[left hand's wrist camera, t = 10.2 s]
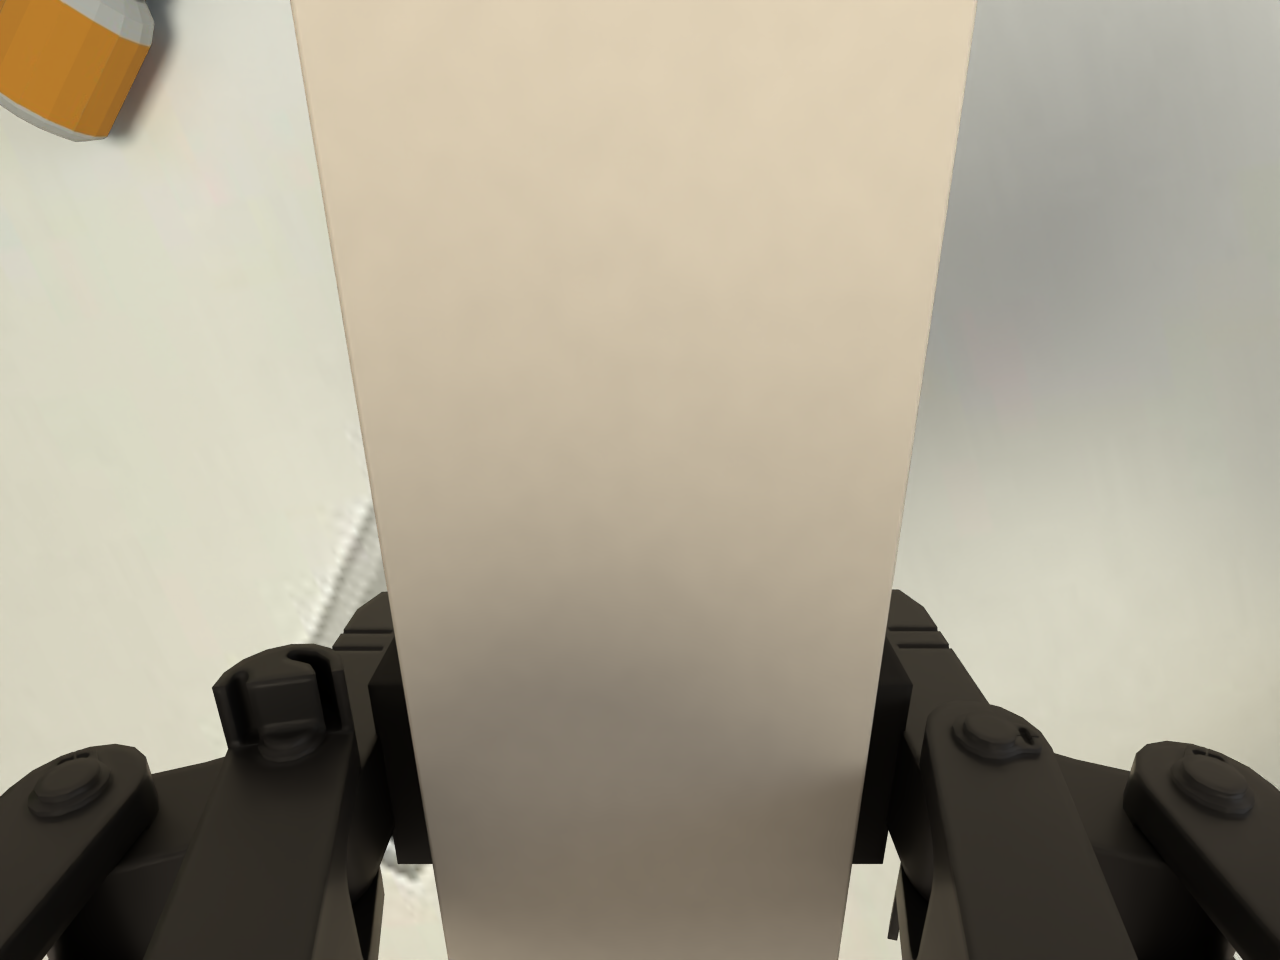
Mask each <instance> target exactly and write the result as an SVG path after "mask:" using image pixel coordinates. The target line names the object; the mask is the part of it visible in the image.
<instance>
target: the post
mask: <svg viewBox="0 0 1280 960" xmlns="http://www.w3.org/2000/svg"><path fill="white" fill-rule="evenodd" d="M977 1H978V0H290V3H291V9H292V15H293V21H294V27H295V33H296V39H297V45H298V51H299V57H300V63H301V69H302V75H303V81H304V87H305V93H306V100H307V106H308V112H309V118H310V124H311V130H312V136H313V142H314V148H315V154H316V160H317V166H318V172H319V178H320V184H321V190H322V197H323V203H324V209H325V215H326V221H327V227H328V233H329V239H330V245H331V251H332V257H333V263H334V269H335V275H336V281H337V287H338V293H339V300H340V306H341V312H342V318H343V324H344V330H345V336H346V342H347V348H348V354H349V360H350V366H351V372H352V378H353V384H354V390H355V396H356V403H357V409H358V415H359V421H360V427H361V433H362V439H363V445H364V451H365V457H366V463H367V469H368V475H369V481H370V487H371V493H372V499H373V506H374V512H375V518H376V524H377V530H378V536H379V542H380V548H381V554H382V560H383V566H384V572H385V578H386V584H387V590H388V596H389V603H390V609H391V615H392V621H393V627H394V633H395V639H396V645H397V651H398V657H399V663H400V669H401V675H402V681H403V687H404V693H405V699H406V706H407V712H408V718H409V724H410V730H411V736H412V742H413V748H414V754H415V760H416V766H417V772H418V778H419V784H420V790H421V796H422V802H423V809H424V815H425V821H426V827H427V833H428V839H429V845H430V851H431V857H432V863H433V869H434V875H435V881H436V887H437V893H438V899H439V906H440V912H441V918H442V924H443V930H444V936H445V942H446V948H447V954H448V960H838V957H839V950H840V943H841V936H842V929H843V922H844V915H845V909H846V902H847V895H848V888H849V881H850V874H851V867H852V860H853V854H854V847H855V840H856V833H857V826H858V819H859V812H860V805H861V799H862V792H863V785H864V778H865V771H866V764H867V757H868V750H869V744H870V737H871V730H872V723H873V716H874V709H875V702H876V695H877V689H878V682H879V675H880V668H881V661H882V654H883V647H884V640H885V634H886V627H887V620H888V613H889V606H890V599H891V592H892V585H893V579H894V572H895V565H896V558H897V551H898V544H899V537H900V530H901V524H902V517H903V510H904V503H905V496H906V489H907V482H908V475H909V469H910V462H911V455H912V448H913V441H914V434H915V427H916V420H917V414H918V407H919V400H920V393H921V386H922V379H923V372H924V365H925V359H926V352H927V345H928V338H929V331H930V324H931V317H932V310H933V304H934V297H935V290H936V283H937V276H938V269H939V262H940V255H941V249H942V242H943V235H944V228H945V221H946V214H947V207H948V200H949V194H950V187H951V180H952V173H953V166H954V159H955V152H956V145H957V139H958V132H959V125H960V118H961V111H962V104H963V97H964V90H965V84H966V77H967V70H968V63H969V56H970V49H971V42H972V35H973V29H974V22H975V15H976V8H977Z"/></svg>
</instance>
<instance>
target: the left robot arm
mask: <svg viewBox="0 0 1280 960" xmlns="http://www.w3.org/2000/svg"><path fill="white" fill-rule="evenodd" d="M212 690H213V693H214V697H215V701H216V704H217V708H218V712H219V716H220V719H221V723H222V727H223V731H224V734H225V738H226V742H227V746H228V751H227V753H226V756H225V757H222V758H219V759H215V760H212V761H208V762H205V763H200V764H196V765H191V766H187V767H182V768H178V769H173V770H169V771H164V772H160V773H155V774H151V772H150V769H149V766H148V763H147V759H146V757H145V756H144V755H143V754H142V753H141V752H140V751H138V750H137V749H136V748H135V747H130V746H125V745H119V744H110V745H102V746H93V747H88V748H85V749H82V750H78V751H75V752H71V753H69V754H66V755H63V756H60V757H58V758H56V759H54V760H52V761H50V762H49V763H47V764H45V765H43V766H41V767H39V768H37V769H35V770H33V771H31V772H30V773H29V774H28V775H26V776H25V777H24V778H22V779H21V780H20V781H18V782H17V783H16V784H14V785H13V786H12V787H10V788H9V789H8V790H7V791H6V792H5V793H4V794H3V795H2V796H0V960H42V959H43V958H44V957H45V955H46V954H47V956H48V958H49V959H48V960H378V953H379V943H380V934H381V924H382V914H383V904H384V888H383V881H382V875H381V870H380V864H381V861H382V858H383V856H384V853H385V851H386V848H387V845H388V843H389V840H390V838H391V835H392V832H393V838H394V844H395V850H396V856H397V862H398V864H433V863H432V857H431V851H430V845H429V839H428V833H427V827H426V821H425V815H424V809H423V802H422V796H421V790H420V784H419V778H418V772H417V766H416V760H415V754H414V748H413V742H412V736H411V730H410V724H409V718H408V712H407V706H406V699H405V693H404V687H403V681H402V675H401V669H400V663H399V657H398V651H397V645H396V639H395V633H394V627H393V621H392V615H391V609H390V603H389V596H388V592H381V593H380V594H378V595H377V596H376V597H374V598H373V599H371V600H370V601H368V602H367V603H366V604H364V605H363V606H361V607H360V608H359V609H357V611H356V612H355V614H354V615H353V617H352V618H351V620H350V621H349V623H348V624H347V626H346V627H345V629H344V633H343V634H340V636H339V637H338V639H337V640H336V642H335V643H334V645H333V646H332V649H331V648H328V647H324V646H320V645H316V644H290V645H286V646H281V647H277V648H272V649H267V650H265V651H262V652H260V653H258V654H255V655H253V656H250V657H248V658H246V659H243V660H242V661H240V662H239V663H237V664H236V665H234V666H233V667H232V668H230V669H229V670H227V671H226V672H224V673H223V675H222V676H221V677H220V678H219V680H218V681H217V682H216V683H215V684H214V686H213V687H212ZM888 830H889V832H890V835H891V838H892V840H893V843H894V845H895V848H896V850H897V853H898V856H899V858H900V861H901V864H900V869H899V875H898V880H897V886H896V891H895V897H894V902H893V908H892V913H891V919H890V925H889V932H888V939H892V940H897V938H898V933H899V932H900V942H901V952H902V960H1236V959H1235V958H1234V957H1233V956H1234V953H1235V951H1236V952H1237V953H1238V954H1239V955H1240V957H1241V958H1242V959H1243V960H1280V791H1279V790H1278V789H1277V788H1276V787H1274V786H1273V785H1272V784H1271V783H1269V782H1268V781H1267V780H1265V779H1264V778H1263V777H1261V776H1260V775H1259V774H1257V773H1256V772H1255V771H1253V770H1252V769H1251V768H1249V767H1247V766H1245V765H1243V764H1241V763H1240V762H1238V761H1236V760H1234V759H1232V758H1230V757H1228V756H1226V755H1224V754H1222V753H1219V752H1216V751H1214V750H1211V749H1207V748H1204V747H1200V746H1197V745H1194V744H1189V743H1180V742H1172V741H1163V742H1157V743H1151V744H1147V745H1146V746H1144V747H1143V748H1142V749H1141V750H1140V751H1139V752H1137V753H1136V756H1135V759H1134V762H1133V765H1132V768H1131V771H1126V770H1121V769H1117V768H1112V767H1108V766H1103V765H1099V764H1094V763H1090V762H1085V761H1081V760H1076V759H1073V758H1069V757H1066V756H1062V755H1059V754H1055V753H1054V752H1053V750H1052V747H1051V746H1050V745H1049V743H1048V742H1047V740H1046V739H1045V737H1044V736H1043V734H1042V733H1041V732H1040V731H1039V730H1038V729H1036V728H1035V727H1034V726H1033V725H1031V724H1030V723H1029V722H1028V721H1026V720H1025V719H1024V718H1022V717H1020V716H1018V715H1016V714H1014V713H1012V712H1010V711H1008V710H1006V709H1003V708H1001V707H998V706H994V705H990V704H989V703H988V701H987V700H986V698H985V697H984V696H983V694H982V693H981V691H980V690H979V688H978V687H977V685H976V684H975V682H974V681H973V679H972V678H971V676H970V675H969V673H968V672H967V670H966V669H965V667H964V666H963V664H962V663H961V662H960V660H959V659H958V657H957V656H956V654H955V653H954V651H953V650H952V649H949V644H948V642H947V641H946V639H945V638H944V636H943V635H942V633H941V632H940V631H937V626H936V625H935V623H934V622H933V620H932V619H931V617H930V616H929V614H928V613H927V611H926V610H925V608H924V607H923V606H921V605H920V604H919V603H917V602H916V601H914V600H913V599H912V598H910V597H909V596H907V595H906V594H904V593H903V592H902V591H900V590H892V592H891V599H890V606H889V613H888V620H887V627H886V634H885V640H884V647H883V654H882V661H881V668H880V675H879V682H878V689H877V695H876V702H875V709H874V716H873V723H872V730H871V737H870V744H869V750H868V757H867V764H866V771H865V778H864V785H863V792H862V799H861V805H860V812H859V819H858V826H857V833H856V840H855V847H854V854H853V860H852V864H883V859H884V853H885V847H886V841H887V836H888Z"/></svg>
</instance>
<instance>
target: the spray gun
mask: <svg viewBox="0 0 1280 960" xmlns="http://www.w3.org/2000/svg"><path fill="white" fill-rule="evenodd" d="M153 31H154V20H153V18H152V16H151V13H150V11H149V9H148V6H147V4H146V2H145V0H0V105H1V106H3V107H4V108H6V109H7V110H9V111H10V112H12V113H13V114H15V115H16V116H18V117H19V118H21V119H23V120H25V121H27V122H29V123H31V124H32V125H34V126H36V127H38V128H40V129H43V130H45V131H47V132H50V133H52V134H55V135H57V136H60V137H63V138H66V139H69V140H72V141H75V142H80V141H91V140H99V139H104V138H106V137H107V136H108V134H109V132H110V130H111V128H112V125H113V123H114V121H115V119H116V117H117V115H118V113H119V111H120V109H121V107H122V105H123V103H124V101H125V98H126V96H127V94H128V92H129V90H130V88H131V86H132V84H133V82H134V80H135V78H136V76H137V74H138V71H139V69H140V67H141V65H142V63H143V61H144V59H145V57H146V55H147V53H148V51H149V49H150V47H151V44H152V38H153Z"/></svg>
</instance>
